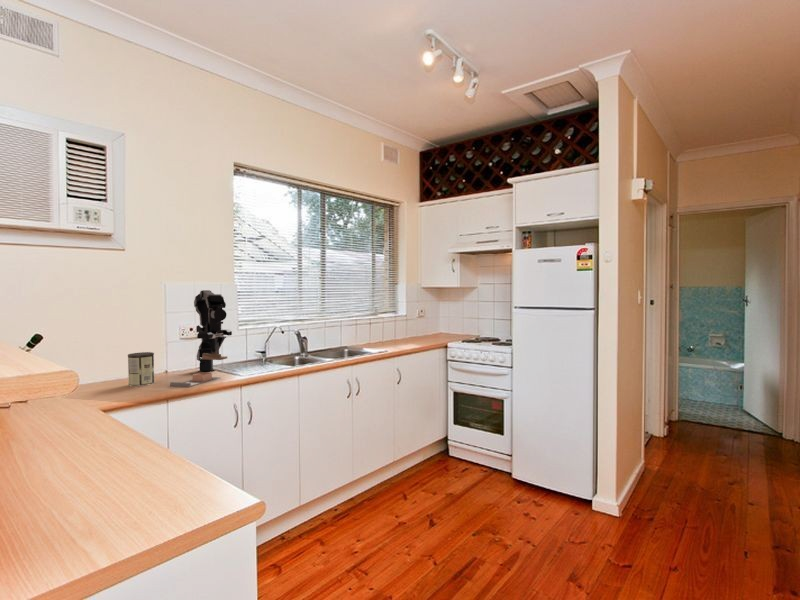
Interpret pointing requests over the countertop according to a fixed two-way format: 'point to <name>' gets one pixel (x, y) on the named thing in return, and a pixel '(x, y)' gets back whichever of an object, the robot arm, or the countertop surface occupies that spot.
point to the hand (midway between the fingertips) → (215, 351)
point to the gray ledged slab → (190, 383)
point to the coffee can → (141, 369)
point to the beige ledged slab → (214, 355)
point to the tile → (202, 377)
